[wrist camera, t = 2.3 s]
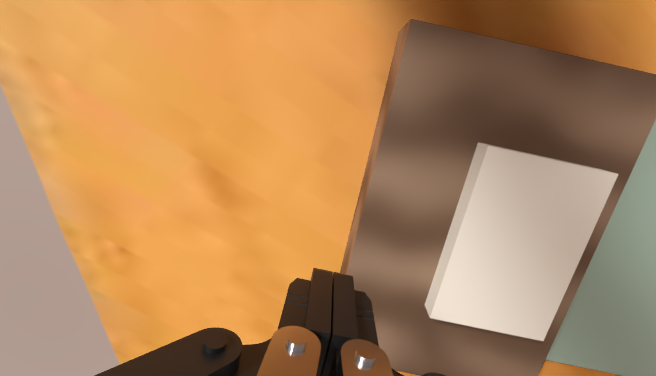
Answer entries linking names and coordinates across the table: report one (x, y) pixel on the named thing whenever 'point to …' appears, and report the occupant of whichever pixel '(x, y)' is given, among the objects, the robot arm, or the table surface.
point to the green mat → (618, 286)
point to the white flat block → (516, 240)
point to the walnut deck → (452, 168)
